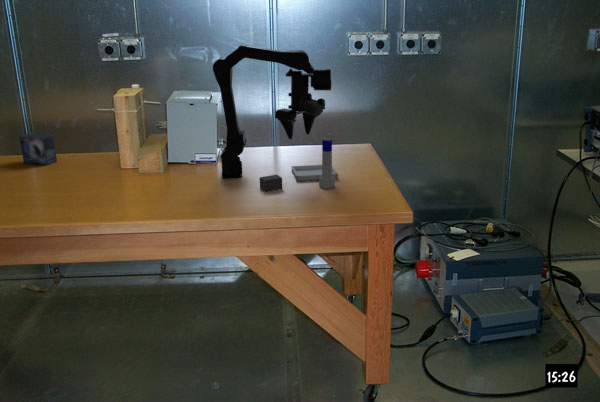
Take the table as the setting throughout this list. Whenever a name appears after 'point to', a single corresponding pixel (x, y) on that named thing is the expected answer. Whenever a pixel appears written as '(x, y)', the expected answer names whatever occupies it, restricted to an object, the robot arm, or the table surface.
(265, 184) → the block
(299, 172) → the tray
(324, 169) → the bolt
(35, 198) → the table surface
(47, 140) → the small box
